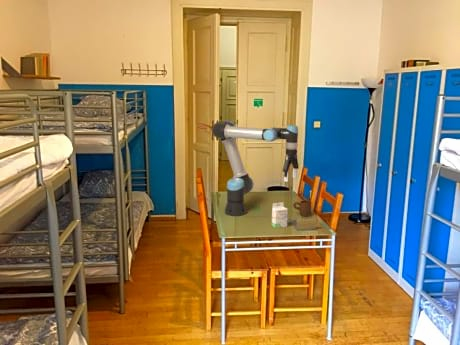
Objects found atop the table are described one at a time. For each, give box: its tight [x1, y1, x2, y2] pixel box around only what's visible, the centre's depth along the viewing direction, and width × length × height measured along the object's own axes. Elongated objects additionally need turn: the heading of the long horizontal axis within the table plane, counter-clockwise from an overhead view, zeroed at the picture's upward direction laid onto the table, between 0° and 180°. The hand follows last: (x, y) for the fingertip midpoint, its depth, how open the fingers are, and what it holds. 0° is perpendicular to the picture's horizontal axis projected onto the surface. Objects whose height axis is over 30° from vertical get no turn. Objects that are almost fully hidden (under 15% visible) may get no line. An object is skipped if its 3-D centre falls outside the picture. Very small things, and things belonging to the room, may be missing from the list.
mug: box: [292, 200, 312, 218], centre depth 275 cm, size 12×8×9 cm, turn 85°
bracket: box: [288, 217, 317, 231], centre depth 253 cm, size 12×18×7 cm, turn 9°
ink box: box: [271, 202, 289, 229], centre depth 250 cm, size 9×5×15 cm, turn 114°
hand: (290, 179), depth 274 cm, fingers open, 13 cm apart
